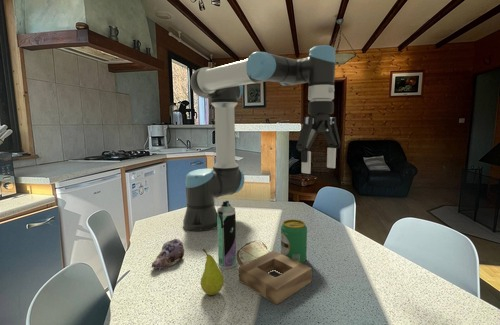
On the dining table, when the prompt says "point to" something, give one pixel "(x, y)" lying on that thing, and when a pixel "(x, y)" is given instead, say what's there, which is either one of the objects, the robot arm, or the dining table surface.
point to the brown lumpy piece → (169, 254)
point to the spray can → (226, 236)
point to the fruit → (211, 277)
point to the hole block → (272, 287)
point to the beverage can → (294, 240)
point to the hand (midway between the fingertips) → (319, 170)
